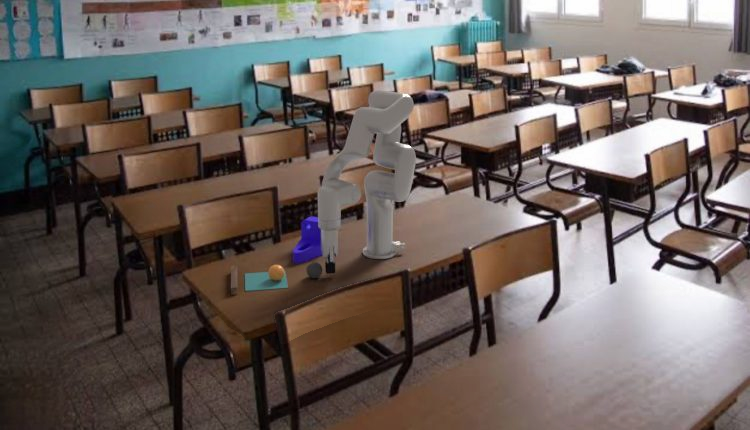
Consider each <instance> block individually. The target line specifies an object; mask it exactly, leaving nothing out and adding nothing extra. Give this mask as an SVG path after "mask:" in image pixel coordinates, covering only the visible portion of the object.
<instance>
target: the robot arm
mask: <svg viewBox="0 0 750 430" xmlns="http://www.w3.org/2000/svg"><path fill="white" fill-rule="evenodd" d="M367 100H368V106H361V107H359V108H357V109H356V110H355V112H354V114H353V118H352V121H351V125H350V127H349V131H348V133H347V138H346V141H345V144H344V146H343V149H342V150H341V151H340V152H339V153H337V154H336V156H334V157H333V159H331V161H330V162H329V163H328V165H327V167H326V168H325V172H324V175H323V179H322V182H321V186H320V187H318V190H317V217H318V227H319V228H320V229H321V252H322V255H321V256H322V257H323V258H324V259H325V263H324V264H325V265H324V266H325V268H324V269H325V274H328V275H329V274H336V258H338V251H339V249H338V248H339V247H338V246H339V244H338V242H339V241H338V240H339V239H338V238H339V237H338V236H339V235H338V232H339V231H338V229H341V227H342V226H341V225H342V223H341V222H342V221H341V219H342V218H341V216H342V215H341V214H342V213H341V209H342V208H341V207H345V206H351V205H352V206H353V205H354V204H356V203H357V202H358V201H360V199H361V197H362V188H361V187H360V186H359V185H358V184H357V183H355V182H350V181H347V180H344V179H340V176H341V173H342V172H343V170H345V168H346V167H347V166H349V165H350V164H352V163H354V162H357V161H361V160H362V159H366V158H367V157H368V156H369V155H370V150H371V146H372V143H373V140H374V137H375V134H376V138H375V141H374V142H375V143H374V149H373V157H372V159H373V162H374V164H375V165H376V166H379V167H382V168H386V169H390V170H394V173H393V172H389V171H385V170H381V169H377V170H376V169H375V170H371V171H369V172H368V173H367V174H366V175H365V177H364V179H363V180H364V181H363V188H364V192H365V193H364V194H365V200H366V246H364V247H363V248H362V254H363V256H364V257H366V258H369V259H372V260H373V259H375V260H386V259H391V258H393V257H395V256H396V255H397V250H398V249H406V243H405V242H402V243H401V241H394V240H393V236H394V235H393V234H394V233H393V231H394V230H393V229H394V227H393V221H394V219H393V218H394V217H393V216H394V210H393V209H394V208H393V203H392V201H393V202H396V203H397V202H400V203H401V202H404V201H406V200H407V199H408V197H409V195H410V193H411V190H412V185H413V178H414V174H415V169H416V161H417V156H416V155H417V154H416V152H415V149H414V148H413V147H412V146H410V144H405V143H401V142H400V141H401V134H402V125H401V124H402V123H404V122H405V121H406V120H407V119H409V117H411V114H412V112H413V109H414V100H413V97H411V95H409V94H407V93H403V92H396V91H390V90H380V89H379V90H374V91H371V92H370V94H369V95H368V99H367Z"/></svg>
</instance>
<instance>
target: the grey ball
mask: <svg viewBox="0 0 750 430" xmlns="http://www.w3.org/2000/svg"><path fill="white" fill-rule="evenodd" d="M305 271H306V275H307V276H308V277H309V278H311V279H317V278H319V277H320V276H322V274H323V266H322V265H321V264H320V263H318V262H316V261H314V262H310V263H309V264H308V265H307V266H306V269H305Z"/></svg>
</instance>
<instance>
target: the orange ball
mask: <svg viewBox="0 0 750 430" xmlns="http://www.w3.org/2000/svg"><path fill="white" fill-rule="evenodd" d="M285 271H286V270H285V269H284V267H283V266H281V265H280V264H274V265H271V266H270V267H269V269H268V271H267V272H268V275H269V277H270V278H271V279H272V280H274V281H279V280H281V279H282V278H283V277H284V274H285Z"/></svg>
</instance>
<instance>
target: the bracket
mask: <svg viewBox="0 0 750 430" xmlns="http://www.w3.org/2000/svg"><path fill="white" fill-rule="evenodd" d="M300 223H301V224H300V226H301V228H300V229H301V235H300V236H301V238H300V240H299V241H298V242H297V244H296V245H295V247H294V248H293V250H292V263H294V264H302V263H305V262H308V261H310V260H312V259H316V258H318V257H320V256H323V255H322V252H321V229H320V228H319V227H318V216H309V217H307V218H305V219H304V220H302V221H301V222H300Z"/></svg>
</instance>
